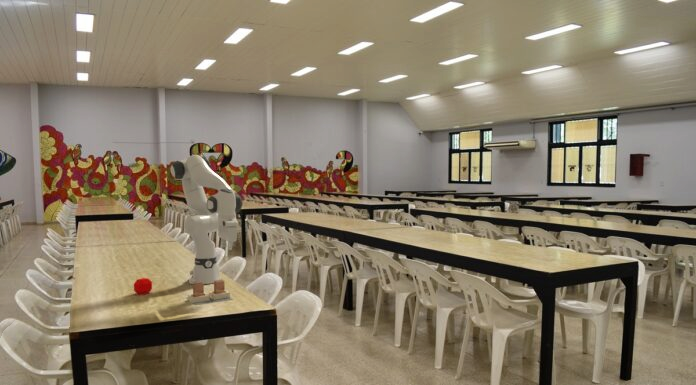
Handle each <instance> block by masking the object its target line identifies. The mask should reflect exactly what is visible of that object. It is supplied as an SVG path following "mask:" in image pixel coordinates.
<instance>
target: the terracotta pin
mask: <svg viewBox="0 0 696 385" xmlns="http://www.w3.org/2000/svg"><path fill="white" fill-rule="evenodd" d="M225 286H226V285H225V280H224V279H223V280H215V281H214V283H213V291H214V294H219V293H225V290H226V289H225Z"/></svg>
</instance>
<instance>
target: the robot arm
mask: <svg viewBox="0 0 696 385" xmlns="http://www.w3.org/2000/svg"><path fill="white" fill-rule="evenodd" d="M170 173H171V175H172V177H173V178H174V179H175V180H181V184H182V189H183V195H184V198H185V201H186V203H187V206H188V208H189V209H190V210H191V211H193V212H195V214H194V215H191V216H188V217H186V218H185V219H184V222H183V229H184V231H185V232H186V233H187V234H188V235H190V237H191V239H192V241H193V244H194V250H195V251H194V252H195V257H194V266H193V268H192V270H190V271H189V276H191V277H189V278H188V283H189V284H190V285H193V283H199V282H202V283H203V284H204V285H209V284H214V281H215V280H224V279H223V277H221V273H220V271H221V269H220V265H218V264H217V263H218V262H217V261H218V259H217V256H216V244H215V242H214V241H213V240H211V238H210V236H209V233H214V232H215V233H216V232H217V236H218V238H220V239H221V240H220V241H221V244H222V245H221V247H222V248H227V250H229V251H232V250H233V246H234V243H235V242H237V240H238V226H239V221H238V220H237V214H238V213H239V212H240V211H241V210H242V208H243V204H244V203H243V199H242V197H241V196H240V195H239V194H237V193H236V192H235V191H234V190H233V189H232V187H230V185H229V184H228V183H227V182H226V180H225V179H224V178H223V177H222V176H220V175H219V174H217V173H216V172H214V171H213V170H212V169H211V162H210V160H209V158H208V157H207V156H201V155H199V154H192V155H191V154H190V156H188V157H187V158H184V159H181V160H176V161H174V162H172V163H171V165H170ZM204 187H205V188H210V189H214V190H217V191H218V192H216V193H215V194H213V195H210V196H209V197H208V198H207V194H206V192H205V190H204ZM227 244H228V245H227Z"/></svg>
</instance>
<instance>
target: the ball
mask: <svg viewBox="0 0 696 385" xmlns="http://www.w3.org/2000/svg"><path fill="white" fill-rule="evenodd" d="M152 290H153V281H152V280H151V279H150V278H147V277H146V278H145V277H141V278H138V279H136V280H135V282H134V283H133V291H134V292H135V293H136V294H137V295H142V296H143V295H146V294H150V292H151V291H152Z"/></svg>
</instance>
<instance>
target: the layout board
mask: <svg viewBox="0 0 696 385" xmlns="http://www.w3.org/2000/svg"><path fill="white" fill-rule="evenodd" d="M185 299H186V300H187V301H188V302H190V303H191V304H192V305H194V306H202V305H208V304H215V303H221V302H226V301H233V300H234V298H232V297H231V292H230V291H228V290H227V289H225V293H219V294H214V290H212V291H211V290H210V291H208V293H207V292H205V291H204V296H198V297H193V293H190V294H187V297H185Z"/></svg>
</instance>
